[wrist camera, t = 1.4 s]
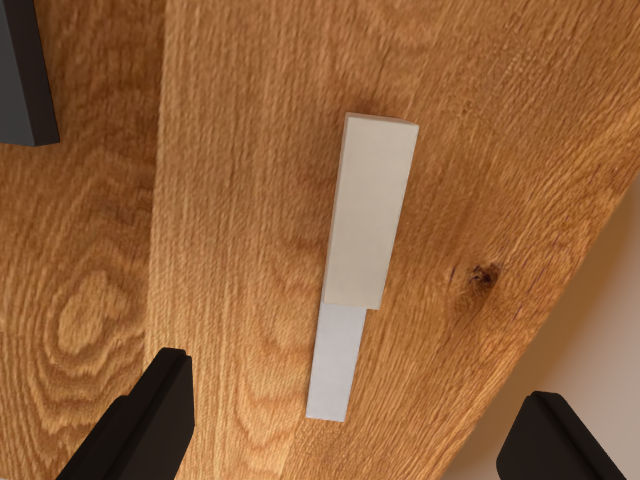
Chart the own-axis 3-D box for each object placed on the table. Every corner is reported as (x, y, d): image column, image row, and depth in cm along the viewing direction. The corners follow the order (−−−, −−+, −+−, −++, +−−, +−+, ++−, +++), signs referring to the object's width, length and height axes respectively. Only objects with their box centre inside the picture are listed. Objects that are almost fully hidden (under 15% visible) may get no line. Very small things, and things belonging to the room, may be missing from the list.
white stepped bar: (345, 111, 15) (347, 116, 12) (402, 118, 15) (420, 124, 12) (306, 408, 23) (300, 461, 19) (344, 413, 23) (345, 467, 19)
